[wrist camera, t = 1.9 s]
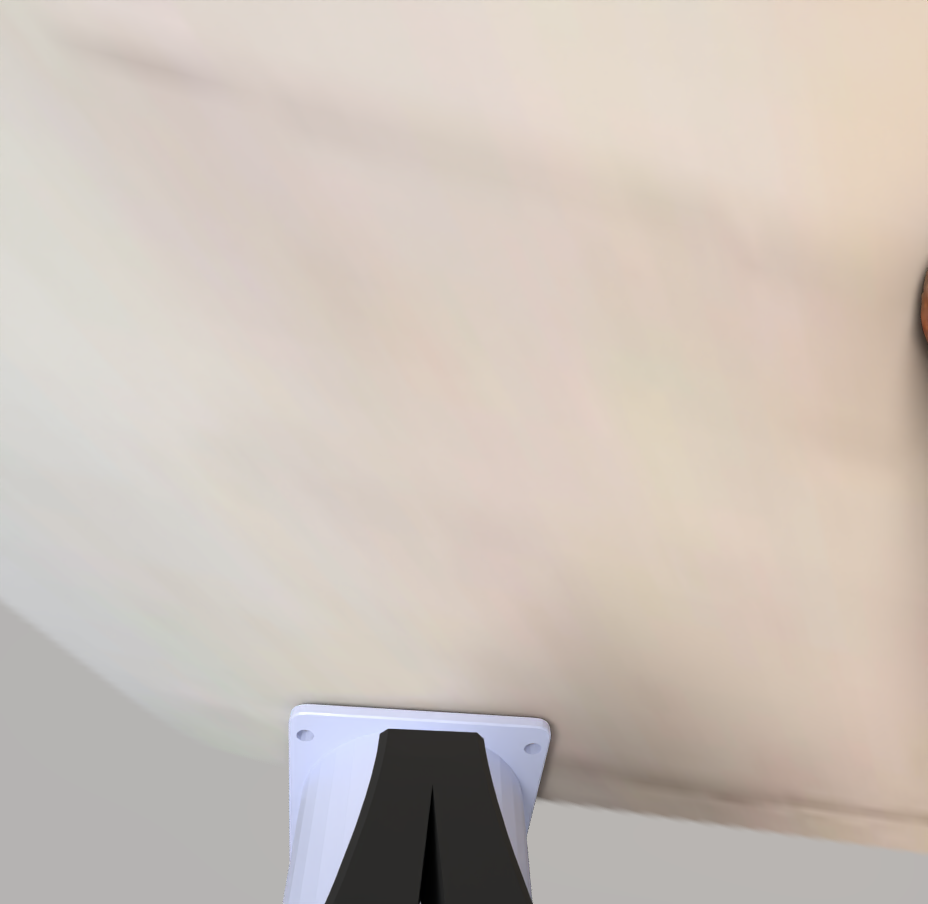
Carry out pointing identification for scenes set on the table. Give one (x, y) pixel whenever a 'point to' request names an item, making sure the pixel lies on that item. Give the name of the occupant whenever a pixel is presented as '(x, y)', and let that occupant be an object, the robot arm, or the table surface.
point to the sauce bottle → (925, 307)
